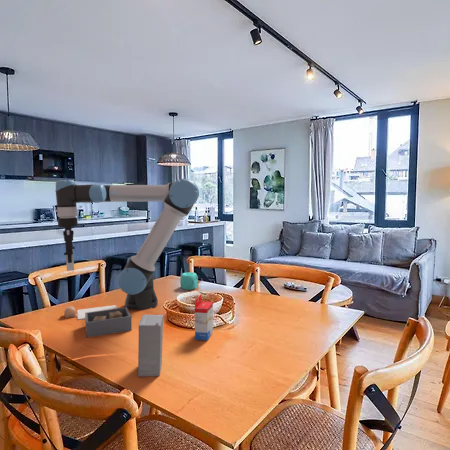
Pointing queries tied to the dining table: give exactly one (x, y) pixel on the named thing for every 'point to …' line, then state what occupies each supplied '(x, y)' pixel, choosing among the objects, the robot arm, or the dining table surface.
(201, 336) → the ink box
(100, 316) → the block
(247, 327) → the dining table surface
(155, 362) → the skincare box
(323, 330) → the dining table surface
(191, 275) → the decorative dice
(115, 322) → the tub
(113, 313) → the block
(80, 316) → the lid
